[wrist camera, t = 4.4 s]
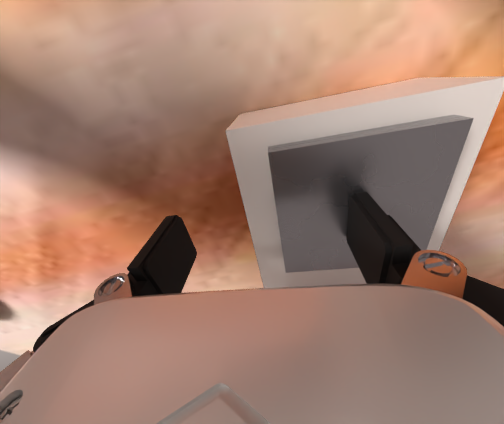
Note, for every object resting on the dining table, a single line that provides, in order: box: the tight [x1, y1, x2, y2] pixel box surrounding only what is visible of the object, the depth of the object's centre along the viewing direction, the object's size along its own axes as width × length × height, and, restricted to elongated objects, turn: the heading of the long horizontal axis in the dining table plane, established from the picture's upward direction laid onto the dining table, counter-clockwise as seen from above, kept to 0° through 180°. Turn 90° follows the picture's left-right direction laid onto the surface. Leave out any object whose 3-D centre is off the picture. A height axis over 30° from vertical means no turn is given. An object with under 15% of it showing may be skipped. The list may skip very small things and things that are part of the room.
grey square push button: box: [268, 115, 474, 273], centre depth 13 cm, size 8×8×6 cm
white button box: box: [226, 76, 504, 288], centre depth 17 cm, size 22×12×6 cm, turn 11°
